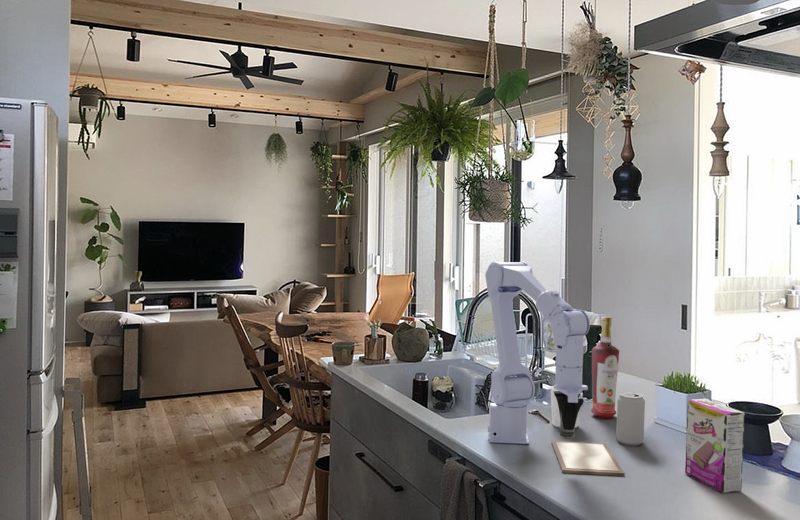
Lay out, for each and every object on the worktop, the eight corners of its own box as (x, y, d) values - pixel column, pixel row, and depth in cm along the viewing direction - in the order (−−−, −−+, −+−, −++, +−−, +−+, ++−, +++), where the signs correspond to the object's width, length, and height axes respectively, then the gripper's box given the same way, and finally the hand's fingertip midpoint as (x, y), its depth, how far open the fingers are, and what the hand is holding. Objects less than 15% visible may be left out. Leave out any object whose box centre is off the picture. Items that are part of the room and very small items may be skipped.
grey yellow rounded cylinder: (560, 437, 142) (561, 405, 141) (559, 433, 145) (560, 401, 144) (575, 438, 141) (575, 406, 141) (573, 433, 144) (573, 402, 144)
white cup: (578, 421, 177) (579, 385, 177) (581, 430, 170) (582, 392, 169) (549, 419, 179) (550, 383, 178) (550, 428, 171) (551, 390, 171)
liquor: (598, 420, 178) (601, 319, 177) (584, 413, 186) (587, 315, 184) (622, 419, 180) (625, 318, 179) (607, 412, 187) (611, 315, 186)
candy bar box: (683, 473, 140) (686, 398, 140) (702, 471, 142) (705, 397, 141) (722, 494, 130) (726, 413, 129) (742, 492, 131) (746, 411, 130)
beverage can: (645, 447, 157) (647, 398, 156) (617, 445, 158) (619, 396, 158) (641, 439, 163) (642, 392, 163) (614, 437, 165) (616, 390, 164)
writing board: (562, 472, 140) (562, 469, 140) (551, 443, 159) (551, 440, 159) (624, 475, 139) (624, 472, 139) (606, 446, 158) (606, 443, 157)
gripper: (593, 373, 135) (591, 438, 135) (582, 359, 149) (581, 418, 150) (558, 372, 135) (557, 436, 136) (551, 358, 150) (549, 416, 150)
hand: (567, 426), depth 143 cm, fingers closed on grey yellow rounded cylinder, 3 cm apart
